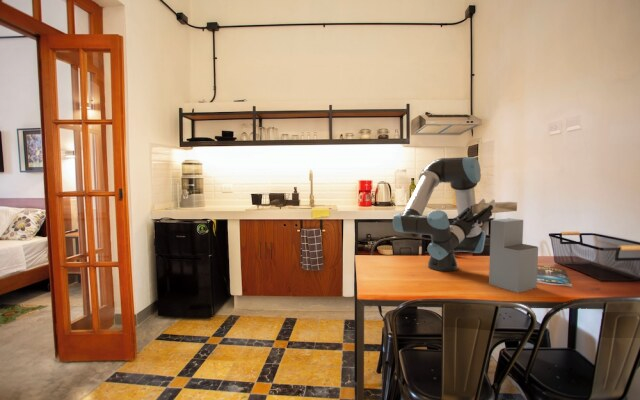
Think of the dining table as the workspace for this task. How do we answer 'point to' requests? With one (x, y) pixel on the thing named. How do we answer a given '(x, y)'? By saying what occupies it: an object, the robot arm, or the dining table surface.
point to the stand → (511, 257)
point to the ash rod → (496, 207)
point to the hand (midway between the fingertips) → (489, 202)
